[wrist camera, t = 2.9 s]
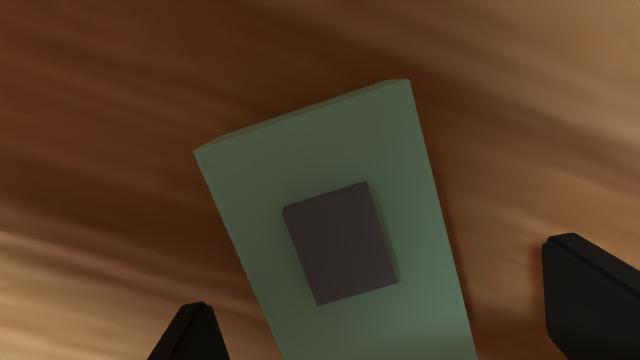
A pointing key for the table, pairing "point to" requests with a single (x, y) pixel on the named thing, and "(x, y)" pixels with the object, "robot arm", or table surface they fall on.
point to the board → (342, 229)
